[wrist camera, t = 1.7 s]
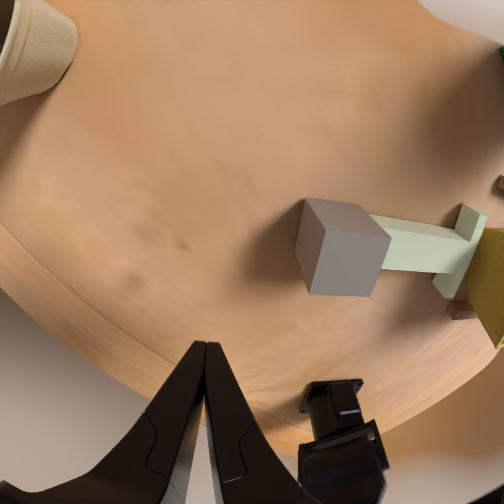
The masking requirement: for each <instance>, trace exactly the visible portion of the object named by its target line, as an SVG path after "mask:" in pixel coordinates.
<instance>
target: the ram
mask: <svg viewBox="0 0 504 504" xmlns="http://www.w3.org/2000/svg"><path fill="white" fill-rule="evenodd" d="M487 218H488V216H487V215H485V214H484V213H482V212H481V211H479V210H478V209H476V208H474V207H473V206H471V205H469V204H465V203H463V204H462V207H461V210H460V213H459V216H458V219H457V222H456V225H455V228H454V229H450V228H445V227H440V226H435V225H429V224H424V223H419V222H413V221H408V220H402V219H396V218H390V217H384V216H378V215H372V214H368V213H367V212H366V211H365V210H363V209H362V208H361V207H360V206H359V205H352V204H346V203H339V202H332V201H325V200H318V199H311V198H305V201H304V206H303V211H302V216H301V221H300V226H299V230H298V235H297V240H296V245H295V249H294V252H295V255H296V258H297V261H298V264H299V267H300V270H301V272H302V275H303V278H304V281H305V284H306V287H307V290H308V293H309V294H311V295H334V296H363V297H370V296H371V293H372V291H373V288H374V286H375V283H376V281H377V278H378V275H379V273H380V270H381V269H390V270H404V271H418V272H433V273H436V275H435V277H434V279H433V281H432V284H433V285H434V286H435V287H436V288H437V290H438V291H439V292H440V293H441V294H442V296H443V297H444V298H453V297H454V295H455V293H456V291H457V289H458V287H459V285H460V283H461V281H462V279H463V277H464V275H465V273H466V271H467V268H468V266H469V264H470V262H471V259H472V257H473V255H474V252H475V250H476V247H477V245H478V242H479V240H480V237H481V235H482V232H483V229H484V227H485V224H486V221H487Z"/></svg>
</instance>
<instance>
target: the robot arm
mask: <svg viewBox="0 0 504 504" xmlns="http://www.w3.org/2000/svg"><path fill="white" fill-rule="evenodd" d="M363 384H364V382H363V380H362V379H357V380H345V381H330V382H314V383H312V384H311V385H310V388H309V390H308V392H307V394H306V396H305V398H304V400H303V402H302V404H301V406H300V408H299V413H309V415H310V420H311V425H312V430H313V435H314V441H312V442H309V443H306V444H304V443H303V444H299V451H298V478H297V481H296V480H295V479H294V478H293V476H292V475H291V474H290V473H289V471H288V470H287V469H286V467H285V466H284V465H283V463H282V462H281V461H280V459H279V458H278V457H277V455H276V454H275V452H274V451H273V449H272V448H271V446H270V445H269V443H268V442H267V440H266V438H265V436H264V435H263V433H262V431H261V429H260V427H259V425H258V423H257V422H256V420H255V418H254V416H253V414H252V412H251V409H250V407H249V405H248V403H247V401H246V399H245V397H244V395H243V393H242V391H241V389H240V387H239V384H238V382H237V380H236V378H235V376H234V374H233V372H232V369H231V367H230V365H229V363H228V361H227V358H226V356H225V354H224V352H223V349H222V347H221V345H220V343H219V342H207V343H206V341H198V340H195V341H194V342H193V343H192V344H191V346H190V347H189V349H188V350H187V352H186V353H185V354H184V356H183V357H182V359H181V360H180V361H179V363H178V364H177V366H176V367H175V368H174V370H173V371H172V373H171V374H170V375H169V377H168V378H167V380H166V381H165V383H164V384H163V385H162V387H161V388H160V390H159V391H158V392H157V394H156V395H155V397H154V398H153V399H152V401H151V402H150V404H149V405H148V406H147V408H146V409H145V412H143V413H142V415H141V416H140V417H139V419H138V420H137V422H136V423H135V424H134V425H133V427H132V428H131V429H130V431H129V432H128V433H127V434H126V435H125V436H124V437H123V438H122V439H121V441H120V442H119V443H118V444H117V445H116V446H115V447H114V448H113V449H112V450H111V451H110V452H109V453H108V454H107V455H106V456H105V457H104V458H103V459H102V460H101V461H100V462H99V463H98V464H97V465H96V466H95V467H94V468H93V469H91V470H90V471H89V472H87V473H86V474H84V475H82V476H80V477H77V478H75V479H73V480H70V481H68V482H65V483H63V484H60V485H57V486H55V487H52V488H49V489H46V490H44V491H40V492H34V493H30V492H25V491H22V490H20V489H19V488H17V487H15V486H13V485H12V484H9V483H8V482H6V481H5V480H2V481H0V504H185V500H186V494H187V488H188V483H189V477H190V472H191V466H192V461H193V456H194V450H195V445H196V440H197V434H198V429H199V424H200V419H201V414H202V408H203V403H204V405H205V417H206V427H207V437H208V446H209V455H210V463H211V471H212V479H213V485H214V492H215V500H216V504H381V502H382V499H383V497H384V494H385V491H386V488H387V481H386V477H385V474H384V471H385V470H388V469H390V466H389V463H388V459H387V456H386V452H385V449H384V446H383V443H382V439H381V436H380V433H379V430H378V427H377V425H376V422H375V419H373V420H370V422H367V423H365V422H364V419H363V416H362V413H361V408H360V405H359V401H358V398H357V395H356V394H357V393H358V391H359V390H360V388H361V387H362V385H363ZM374 437H375V439H374V440H369V439H372V438H374ZM298 483H299V484H301V486H302V487H301V486H300V485H299V484H298ZM467 504H504V483H502V484H501V485H499V486H497V487H496V488H494V489H492V490H491V491H489V492H487V493H486V494H484V495H482V496H480V497H478V498H476V499H474V500H472V501H470V502H468V503H467Z"/></svg>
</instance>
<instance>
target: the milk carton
mask: <svg viewBox="0 0 504 504" xmlns="http://www.w3.org/2000/svg"><path fill="white" fill-rule="evenodd" d="M500 51H501V54H502V56H503V59H504V47H501V48H500Z"/></svg>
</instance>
